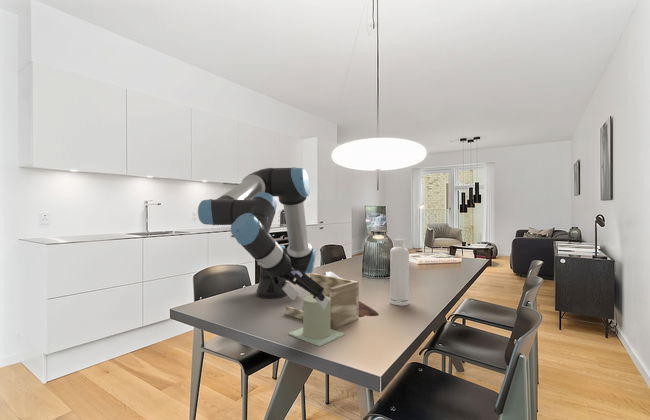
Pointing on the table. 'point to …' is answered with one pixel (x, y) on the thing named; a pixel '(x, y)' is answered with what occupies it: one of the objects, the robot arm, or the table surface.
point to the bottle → (399, 273)
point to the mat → (317, 342)
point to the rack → (336, 299)
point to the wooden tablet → (366, 310)
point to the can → (316, 318)
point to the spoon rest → (330, 274)
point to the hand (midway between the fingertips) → (309, 300)
